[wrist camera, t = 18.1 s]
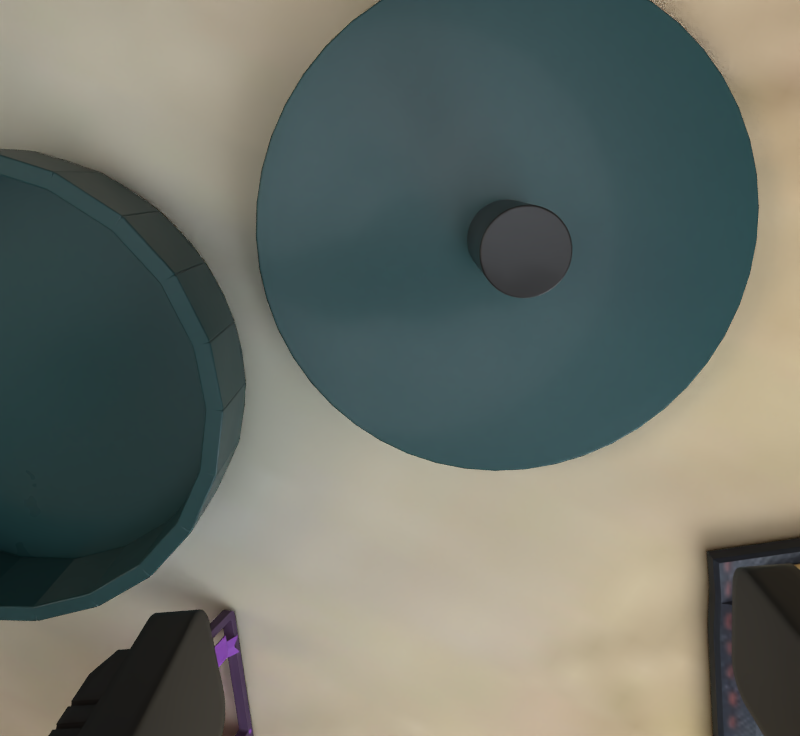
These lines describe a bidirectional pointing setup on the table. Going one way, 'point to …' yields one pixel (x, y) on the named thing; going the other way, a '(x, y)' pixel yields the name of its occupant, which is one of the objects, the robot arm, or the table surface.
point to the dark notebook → (729, 713)
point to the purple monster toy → (233, 666)
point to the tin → (103, 387)
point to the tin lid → (506, 224)
